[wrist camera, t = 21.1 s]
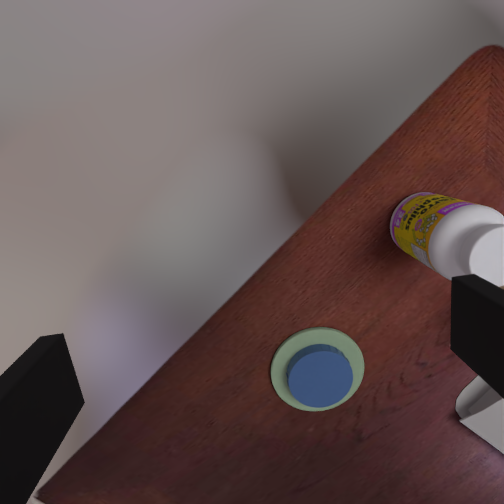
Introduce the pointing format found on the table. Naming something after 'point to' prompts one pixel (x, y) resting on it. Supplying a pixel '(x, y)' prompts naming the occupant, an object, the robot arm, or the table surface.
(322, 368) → the jar lid
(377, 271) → the table surface
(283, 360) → the coaster
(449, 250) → the supplement bottle
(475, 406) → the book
